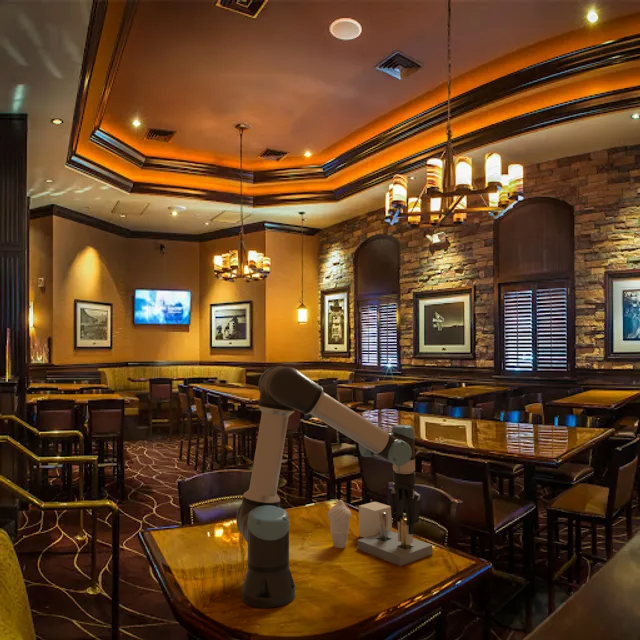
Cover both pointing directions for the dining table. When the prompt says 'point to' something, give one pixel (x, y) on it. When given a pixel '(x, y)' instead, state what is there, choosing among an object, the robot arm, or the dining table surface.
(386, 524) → the steel pin
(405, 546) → the brass pin
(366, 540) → the socket board
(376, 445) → the robot arm
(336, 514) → the soft serve ice cream cone
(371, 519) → the block
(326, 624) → the dining table surface
